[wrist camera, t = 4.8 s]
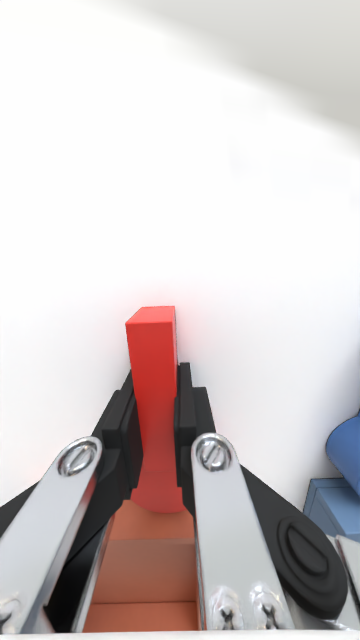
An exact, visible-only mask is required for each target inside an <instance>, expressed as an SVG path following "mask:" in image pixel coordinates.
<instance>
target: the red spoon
mask: <svg viewBox="0 0 360 640" xmlns="http://www.w3.org/2000/svg"><path fill="white" fill-rule="evenodd" d="M125 326H126V333H127V341H128V348H129V356H130V363H131V371H132V378H133V386H134V393H135V398H136V401H137V409H138V416H139V424H140V432H141V439H142V447H143V455H144V456H143V462H142V467H141V472H140V477H139V482H138V486H137V488H136V489H133V490H132V494H131V500H132V501H133V502H134V503H135V504H137V505H138V506H140V507H142V508H144V509H146V510H149V511H153V512H158V513H176V512H181V511H185V510H187V509H186V508H185V506H184V505H183V502H182V487H177V478H176V462H175V446H174V398H175V397H176V396H177V366H178V365H177V345H176V324H175V307H174V306H160V307H142V308H140V309H139V310H138V311H137V312H136V313H135V314H134V315H133V316H132V317H131V318H130V319H129V320H128V321H127V322H126V323H125Z"/></svg>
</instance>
